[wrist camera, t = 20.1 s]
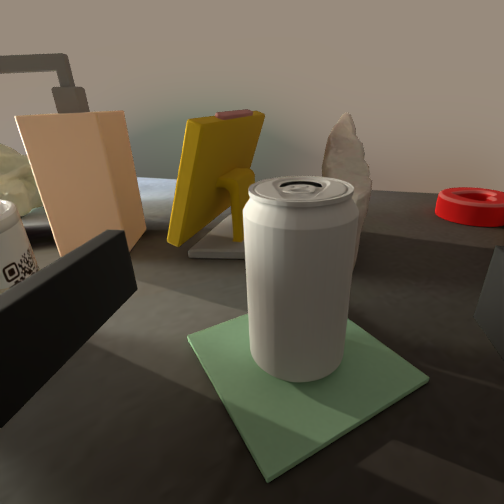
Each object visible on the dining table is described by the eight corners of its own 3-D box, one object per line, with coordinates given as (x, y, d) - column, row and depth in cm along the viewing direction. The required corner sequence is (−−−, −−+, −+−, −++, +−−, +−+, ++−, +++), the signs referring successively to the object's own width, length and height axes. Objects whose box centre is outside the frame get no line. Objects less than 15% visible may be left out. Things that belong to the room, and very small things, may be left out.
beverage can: (339, 329, 25) (355, 172, 20) (345, 397, 19) (370, 202, 14) (258, 322, 26) (253, 172, 21) (241, 384, 20) (228, 200, 15)
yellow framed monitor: (234, 214, 52) (228, 109, 46) (281, 217, 50) (281, 107, 43) (170, 270, 35) (145, 116, 29) (237, 279, 33) (226, 113, 26)
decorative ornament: (427, 205, 53) (431, 186, 51) (492, 206, 51) (498, 186, 50) (447, 225, 44) (452, 203, 43) (526, 228, 42) (534, 205, 41)
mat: (428, 382, 20) (429, 377, 20) (267, 484, 15) (267, 478, 15) (310, 294, 30) (310, 291, 30) (187, 339, 25) (186, 335, 25)
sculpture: (313, 225, 46) (318, 113, 40) (346, 225, 46) (356, 111, 39) (328, 285, 31) (340, 120, 25) (376, 286, 31) (402, 118, 24)
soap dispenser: (147, 229, 48) (113, 57, 38) (128, 253, 40) (81, 46, 30) (61, 233, 47) (6, 61, 38) (25, 258, 40) (-54, 51, 30)
